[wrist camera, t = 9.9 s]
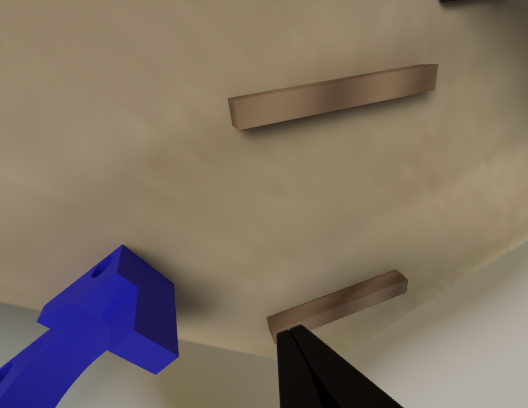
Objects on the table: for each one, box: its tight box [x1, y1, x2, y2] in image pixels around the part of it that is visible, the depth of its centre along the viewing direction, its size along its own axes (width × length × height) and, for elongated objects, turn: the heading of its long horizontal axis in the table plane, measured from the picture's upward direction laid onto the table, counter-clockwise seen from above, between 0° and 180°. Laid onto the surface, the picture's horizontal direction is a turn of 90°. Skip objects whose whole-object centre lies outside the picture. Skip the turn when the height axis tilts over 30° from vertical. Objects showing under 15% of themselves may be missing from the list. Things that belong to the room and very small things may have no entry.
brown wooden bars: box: [228, 64, 438, 344], centre depth 21 cm, size 13×19×2 cm
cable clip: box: [0, 245, 179, 408], centre depth 16 cm, size 12×4×6 cm, turn 124°
